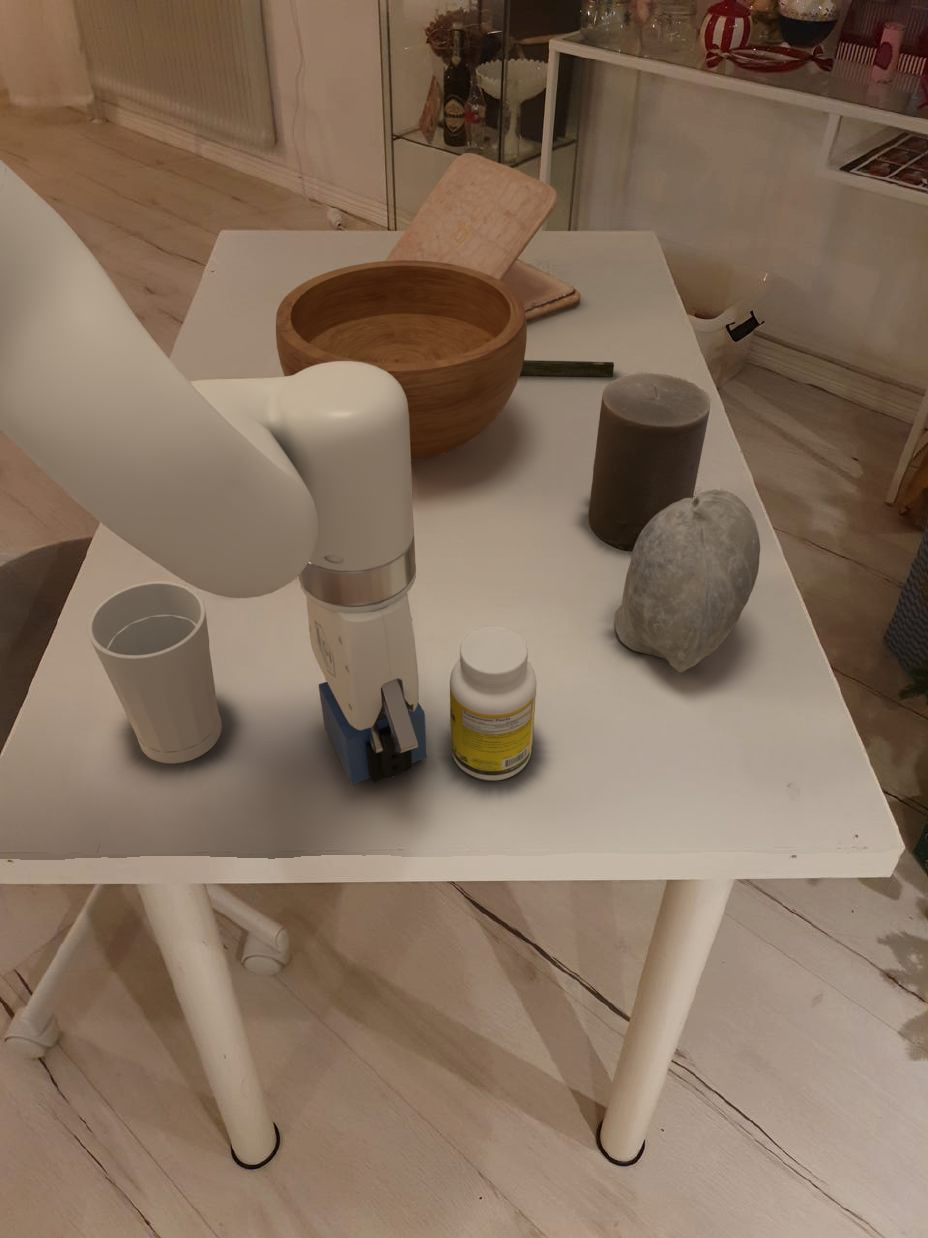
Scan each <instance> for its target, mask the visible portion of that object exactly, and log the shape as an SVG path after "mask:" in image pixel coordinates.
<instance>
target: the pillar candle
mask: <svg viewBox="0 0 928 1238" xmlns="http://www.w3.org/2000/svg"><path fill="white" fill-rule="evenodd" d="M711 401H712V399H711V397H710V395H709V394H708V392H707V391H706V390H705V389H702V388H700V387H699V386H698V385H697V384H695V383H694V382H690V381H689V380H687V379H685V378H681V377H677V376H673V375H669V374H665V373H653V372H647V371H642V372H640V371H639V372H635V373H634V374H628V375H624V376H621V377H619V378H616V379H614V380H612V381H611V382H609V383H608V384H607V385H606V386H605V387H604V389H603V391H602V395H601V403H600V412H599V420H598V428H597V437H596V445H595V452H594V460H593V462H594V463H593V468H592V481H591V488H590V496H589V497H590V499H589V505H588V515H587V516H588V523H589V526H590V528H591V530H592V532H593V533H594V534H595V535H596V536H597V537H598V538H599V539H601V540H602V541H604V542H606V543H609V544H610V545H612V546H614V547H616V548H619V549H621V550H626V551H631V552H633V549H634V546H635V543H636V541H637V539H638V537H639V535H640V533H641V531H642V530H643V529H644V527H645V526H646V525H647V523H648V522H649V521H650V520H651V519H652V518H653V517H654V516H655V515H656V514H657V513H659V512H660V511H662V510H663V509H665V508H666V507H668V506H669V505H671V504H672V503H675V502H678V501H680V500H682V499H684V498H692V499H693V498H694V495H695V494H694V493H695V490H696V485H697V479H698V473H699V468H700V463H701V459H702V458H701V457H702V453H703V449H704V442H705V438H706V433H707V426H708V423H709V417H710V411H711Z"/></svg>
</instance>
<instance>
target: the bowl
mask: <svg viewBox="0 0 928 1238" xmlns="http://www.w3.org/2000/svg"><path fill="white" fill-rule="evenodd" d="M527 327H528V326H527V320H526V314H525V308H524V305H523V302H522V300H521V299H520V297H519V296H518V294H517V293H516V292H515V291H514V290H513V289H512V288H510V287H509V286H508V285H506V284H505V283H503V282H502V281H500V280H498V279H496V278H494V277H492V276H490V275H488V274H485V273H483V272H480V271H477V270H474V269H470V268H466V267H463V266H458V265H453V264H447V263H440V262H431V261H416V260H396V261H385V260H383V261H372V262H371V261H370V262H364V263H358V264H354V265H349V266H344V267H340V268H337V269H334V270H331V271H327V272H323V273H322V274H319V275H317V276H314V277H312V278H310V279H308V280H306V281H305V282H303V283H301V284H299V285H297V286H296V287H295V288H293V289H292V290H291V291H290V292H289V293H287V294H286V296H285V297H283V299H282V301H281V302H280V303H279V305H278V308H277V310H276V316H275V340H276V341H275V342H276V349H277V354H278V360H279V363H280V367H281V370H282V373H283V376H292V375H294V374H296V373H298V372H300V371H302V370H304V369H306V368H308V367H311V366H314V365H318V364H322V363H327V362H335V361H354V362H362V363H367V364H370V365H373V366H376V367H378V368H380V369H382V370H384V371H386V372H388V373H389V374H391V375H392V376H393V377H394V378H395V379H396V380H397V381H398V382H399V384H400V385H401V387H402V389H403V391H404V393H405V395H406V398H407V402H408V412H409V429H410V452H411V461H418V460H419V461H420V460H424V459H426V460H427V459H431V458H434V457H438V456H440V455H444V454H446V453H449V452H451V451H453V450H456V449H458V448H460V447H462V446H463V445H465V444H466V443H469V442H470V441H472V440H473V439H474V438H476V437H477V436H479V434H481V433H482V432H483V431H484V430H485V429H487V427H488V426H489V425H490V424H491V423H492V422H494V420H495V419H496V418H497V417H498V416H499V415H500V413H501V412H502V411H503V409H504V407H505V406H506V405H507V403H508V402H509V400H510V398H511V396H512V394H513V392H514V390H515V388H516V386H517V384H518V381H519V378H520V376H521V375H520V373H521V370H522V366H523V361H524V360H525V355H526V350H527V337H528V335H527V334H528V333H527V332H528V330H527V329H528V328H527Z"/></svg>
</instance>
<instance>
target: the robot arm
mask: <svg viewBox="0 0 928 1238" xmlns="http://www.w3.org/2000/svg"><path fill="white" fill-rule="evenodd" d="M0 431H1V432H2V433H3V434H4V435H6V436H7V437H8V438H9V439H10V440H11V441H12V443H14V444H15V445H16V446H17V447H18V448H19V449H20V450H22V452H24V454H25V455H27V456H28V457H29V459H31V460H32V462H34V463H35V465H37V466H38V467H39V468H40V469H41V470H42V471H43V472H44V473H45V474H46V476H48V477H49V478H50V479H51V480H52V481H53V482H54V483H55V484H57V485H58V486H59V488H61V489H62V491H64V492H65V493H66V494H67V495H68V496H69V497H70V498H71V499H72V500H74V501H75V502H76V503H77V504H78V505H79V506H80V507H82V508H83V509H84V510H85V511H86V512H87V513H89V515H91V516H92V517H93V518H95V519H96V520H97V521H98V522H100V524H102V525H103V526H105V527H106V528H107V529H108V530H109V531H111V532H112V533H114V534H115V535H116V536H118V537H119V538H120V539H121V540H123V541H124V542H126V543H127V544H129V545H130V546H132V547H133V548H134V549H136V550H137V551H139V552H140V553H142V554H143V555H145V556H146V557H147V558H149V559H150V560H152V561H153V562H155V563H156V564H158V565H160V566H161V567H162V568H164V569H166V570H167V571H168V572H169V573H171V574H173V575H174V576H176V577H177V578H179V579H181V580H182V581H184V582H185V583H187V584H189V585H191V586H193V587H195V588H197V589H199V590H202V591H204V592H207V593H211V594H212V595H215V596H221V597H225V598H234V599H250V598H257V597H262V596H265V595H269V594H273V593H274V592H276V591H278V590H280V589H282V588H284V587H286V586H287V585H289V584H290V583H291V582H293V581H294V580H296V579H297V577H298V580H299V581H298V582H299V585H300V589H301V590H302V592H303V594H304V595H305V597H306V608H307V619H308V631H309V639H310V640H309V641H310V645H311V649H312V653H313V655H314V658H315V660H316V662H317V664H318V666H319V668H320V670H321V672H322V674H323V676H324V678H325V681H326V682H328V684H329V686H330V688H331V690H332V692H333V694H334V696H335V698H336V700H337V702H338V704H339V706H340V708H341V710H342V712H343V714H344V715H345V717H346V719H347V721H348V722H349V724H350V725H351V726H353V727H354V728H355V729H357V730H363V729H368V733H369V737H370V742H368V743H366V750H367V759H368V768H369V776H370V778H369V779H370V780H371V782H372V783H377V782H380V781H383V780H386V779H392V778H395V777H397V776H399V775H401V774H403V773H405V772H408V771H410V770H411V769H412V768H413V763H412V752H411V749H414V748H416V747H418V742H417V739H416V736H415V733H414V729H413V726H412V723H411V720H410V717H409V713H408V711H409V710H410V711H411V712H414V711H415V709H416V707H417V704H418V703H419V697H420V696H419V695H420V691H419V690H420V689H419V688H420V687H419V686H420V685H419V684H420V683H419V670H418V660H417V659H418V657H417V649H416V642H415V633H414V626H413V618H412V613H411V608H410V601H409V595H408V593H409V591H410V590H411V589H412V588H413V585H414V583H415V580H416V578H417V565H416V563H417V562H416V546H415V545H416V544H415V542H416V541H415V525H414V502H413V501H414V500H413V479H412V478H413V477H412V460H411V452H410V429H409V412H408V402H407V398H406V395H405V393H404V391H403V389H402V387H401V385H400V384H399V382H398V381H397V380H396V379H395V378H394V377H393V376H392V375H391V374H389V373H388V372H386V371H384V370H382V369H380V368H378V367H376V366H373V365H370V364H367V363H362V362H354V361H335V362H327V363H322V364H318V365H314V366H311V367H308V368H306V369H304V370H302V371H300V372H298V373H296V374H294V375H292V376H284V375H283V376H273V377H271V376H270V377H247V378H245V377H243V378H210V379H209V378H208V379H197V380H190V381H189V379H188V378H186V376H185V375H184V374H183V373H182V371H180V369H179V368H177V366H176V365H175V364H174V363H173V362H172V360H171V359H170V358H169V356H167V354H166V353H165V352H164V350H162V349H161V347H160V346H159V345H158V344H157V342H156V341H155V340H154V338H153V337H152V336H151V334H150V332H148V331H147V329H146V328H145V327H144V326H143V324H142V323H141V321H140V320H139V319H138V317H137V316H136V315H135V313H134V312H133V311H132V309H131V308H130V306H129V305H128V303H127V302H126V300H125V299H124V297H123V296H122V294H121V293H120V291H119V289H118V288H117V286H116V285H115V283H114V282H113V280H112V279H111V278H110V276H109V274H108V272H106V270H105V269H104V267H103V266H102V265H101V263H100V262H99V261H98V260H97V258H96V256H95V255H94V254H93V253H92V251H91V250H90V249H89V247H88V246H87V245H86V244H85V243H84V242H83V240H82V239H81V237H79V236H78V235H77V233H76V232H75V231H74V230H73V229H72V227H71V226H70V225H69V224H68V223H67V221H66V220H65V219H64V218H63V217H62V216H61V215H60V214H59V213H58V212H57V211H56V210H55V209H54V208H53V207H52V206H51V205H50V203H48V202H47V201H46V200H44V199H43V198H42V197H41V196H40V195H39V194H38V192H36V191H35V190H34V189H32V188H31V186H29V185H28V184H27V183H26V182H25V181H24V180H23V179H22V178H21V177H20V176H19V175H18V174H17V173H16V172H15V171H14V170H12V169H11V167H10V166H8V164H7V163H5V161H3V160H2V159H0ZM382 703H383V704H382ZM384 718H387V719H388V722H389V725H390V728H391V729H390V730H387V731H384V732H382V733H380V732H379V728H378V723H377V721H378V720H381V719H384Z"/></svg>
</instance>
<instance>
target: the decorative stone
mask: <svg viewBox="0 0 928 1238" xmlns="http://www.w3.org/2000/svg"><path fill="white" fill-rule="evenodd" d="M760 556H761V542H760V534H759V530H758V526H757V523H756V520H755V519H754V516H753V514H752V511H751V510H750V509H749V507H748V506H747V504H746V503H745V502H744V501H743V500H742V499H741V498H740V497H738V496H737V495H736V494H734V493H732V492H729V491H728V490H727V491H726V490H722V489H711V490H706V491H702V492H700V493H697V495H695V496H693V499H692V498H684V499H682V500H680V501H678V502H675V503H672V504H671V505H669V506H668V507H666V508H665V509H663V510H662V511H660V512H659V513H657V514H656V515H655V516H654V517H653V518H652V519H651V520H650V521H649V522H648V523H647V525H646V526H645V527H644V529H643V530H642V531H641V533H640V535H639V537H638V539H637V541H636V543H635V546H634V549H633V551H631V557H630V562H629V565H628V567H627V573H626V576H625V581H624V586H623V592H622V599H621V604H620V606H618V608H617V609H616V610H615V612H614V624H615V632H616V635H617V637H618V639H619V641H620V642H621V643H622V644H623V645H625V646H626V647H627V648H628V649H630V650H632V651H634V652H637V653H641V654H646V655H649V656H654V657H658V658H661V659H662V660H665V661H668V663H669V665H670V666H671V667H672V668H673V669H674V670H675V671H677V672H678V673H684V672H686V671H687V670H688V669H690V668H693V667H694V666H696V665H697V664H698V663H699V662H700V661H701V660H702V659H704V658H707V657H708V656H709V655H711V654H712V653H714V652H715V651H716V650H717V648H718V647H719V646H721V644H722V643H723V641H724V640H725V639H726V638H727V636H728V635H729V634H730V632H731V631H732V630H733V628H734V626H735V625H736V623H737V622H738V621H739V620H740V617H741V615H742V613H743V610H744V609H745V607H746V605H747V603H748V601H749V600H750V597H751V594H752V592H753V590H754V587H755V584H756V582H757V577H758V573H759V568H760Z"/></svg>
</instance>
